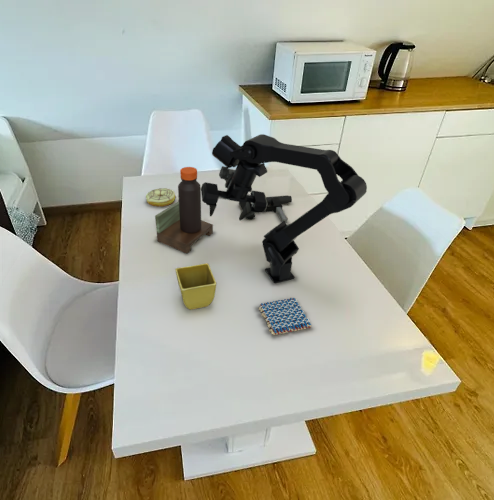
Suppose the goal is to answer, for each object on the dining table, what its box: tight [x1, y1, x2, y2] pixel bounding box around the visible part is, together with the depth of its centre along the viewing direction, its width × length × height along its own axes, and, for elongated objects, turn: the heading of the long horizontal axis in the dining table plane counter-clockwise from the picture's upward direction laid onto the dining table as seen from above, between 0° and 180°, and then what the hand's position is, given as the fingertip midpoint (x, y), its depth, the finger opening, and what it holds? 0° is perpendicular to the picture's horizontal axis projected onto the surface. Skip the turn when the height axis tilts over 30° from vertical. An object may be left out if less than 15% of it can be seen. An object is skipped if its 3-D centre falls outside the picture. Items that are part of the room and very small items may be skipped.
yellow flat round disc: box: [145, 187, 176, 208], centre depth 145 cm, size 10×11×4 cm
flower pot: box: [174, 263, 217, 311], centre depth 99 cm, size 9×9×9 cm
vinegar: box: [177, 166, 202, 233], centre depth 119 cm, size 7×7×20 cm
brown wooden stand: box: [154, 200, 214, 254], centre depth 124 cm, size 12×14×10 cm
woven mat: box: [258, 297, 312, 336], centre depth 97 cm, size 10×11×2 cm
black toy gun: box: [238, 195, 293, 224], centre depth 140 cm, size 3×20×16 cm
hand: (225, 217), depth 115 cm, fingers open, 9 cm apart
